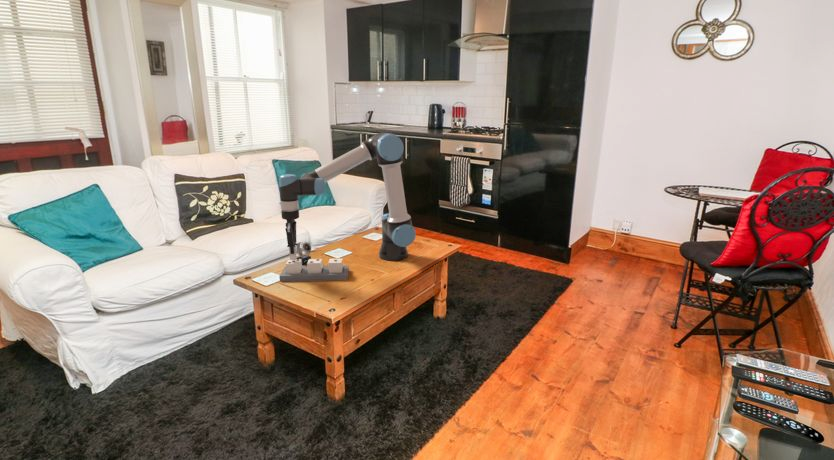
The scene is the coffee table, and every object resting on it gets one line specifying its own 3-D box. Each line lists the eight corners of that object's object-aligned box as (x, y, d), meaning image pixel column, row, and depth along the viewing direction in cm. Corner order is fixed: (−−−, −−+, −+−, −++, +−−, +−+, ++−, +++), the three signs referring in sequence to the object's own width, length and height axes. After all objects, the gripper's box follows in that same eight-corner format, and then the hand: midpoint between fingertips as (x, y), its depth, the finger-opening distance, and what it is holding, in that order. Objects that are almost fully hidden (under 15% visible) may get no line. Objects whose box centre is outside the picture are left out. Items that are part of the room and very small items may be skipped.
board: (348, 270, 216) (348, 265, 216) (347, 279, 205) (346, 274, 204) (285, 271, 214) (284, 266, 213) (279, 281, 202) (279, 276, 202)
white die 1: (302, 269, 211) (301, 258, 210) (299, 273, 205) (299, 263, 204) (289, 269, 211) (288, 259, 209) (286, 274, 205) (285, 263, 204)
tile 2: (322, 268, 212) (322, 258, 210) (320, 273, 206) (320, 262, 205) (309, 269, 211) (309, 258, 210) (307, 273, 206) (307, 263, 204)
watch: (305, 266, 222) (304, 244, 219) (294, 262, 226) (292, 242, 223) (314, 262, 226) (312, 241, 223) (302, 259, 230) (301, 239, 227)
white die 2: (342, 268, 213) (342, 258, 211) (341, 273, 207) (341, 262, 205) (330, 268, 212) (329, 258, 211) (328, 273, 206) (328, 262, 205)
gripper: (284, 206, 206) (287, 255, 212) (278, 213, 193) (282, 264, 200) (301, 206, 207) (303, 255, 213) (296, 212, 194) (299, 264, 200)
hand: (293, 259), depth 206 cm, fingers closed
